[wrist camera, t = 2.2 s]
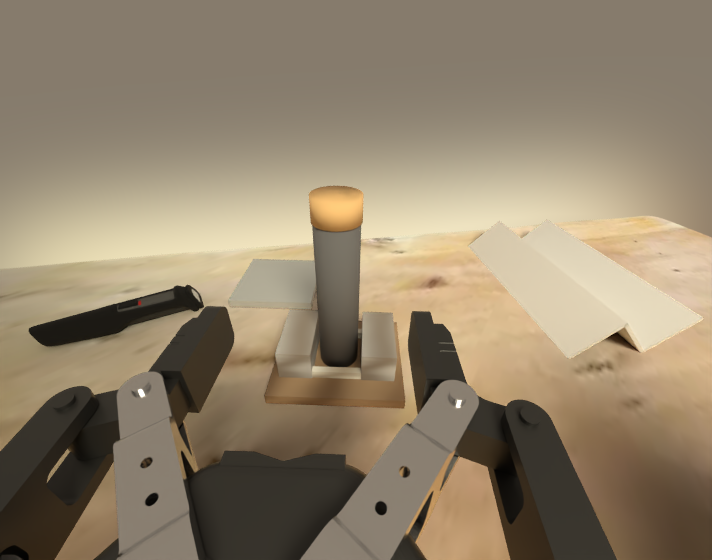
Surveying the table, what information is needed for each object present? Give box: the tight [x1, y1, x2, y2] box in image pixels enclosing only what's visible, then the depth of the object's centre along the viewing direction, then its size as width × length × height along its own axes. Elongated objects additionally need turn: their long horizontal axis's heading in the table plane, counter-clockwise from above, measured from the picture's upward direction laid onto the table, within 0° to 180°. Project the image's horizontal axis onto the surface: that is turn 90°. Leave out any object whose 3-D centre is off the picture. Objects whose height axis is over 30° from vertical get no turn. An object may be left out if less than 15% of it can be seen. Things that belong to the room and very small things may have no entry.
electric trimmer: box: [29, 285, 204, 346], centre depth 35 cm, size 4×16×3 cm, turn 121°
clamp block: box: [265, 310, 405, 408], centre depth 30 cm, size 12×10×4 cm
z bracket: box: [468, 220, 704, 358], centre depth 42 cm, size 12×25×6 cm
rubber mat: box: [228, 259, 316, 309], centre depth 42 cm, size 10×10×1 cm
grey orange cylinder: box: [309, 186, 363, 367], centre depth 26 cm, size 4×4×16 cm
